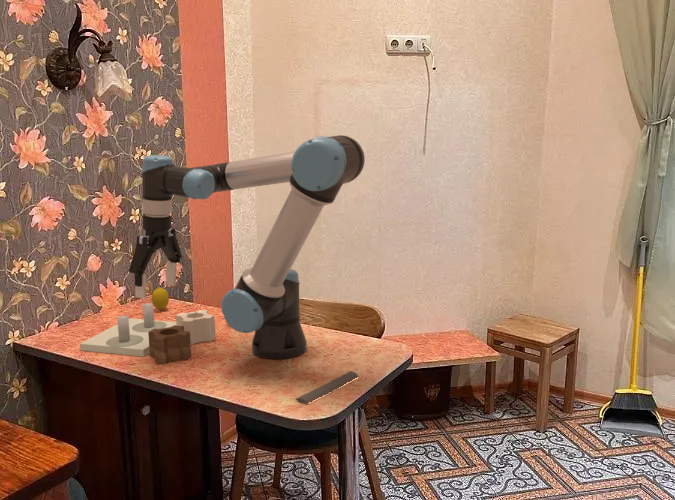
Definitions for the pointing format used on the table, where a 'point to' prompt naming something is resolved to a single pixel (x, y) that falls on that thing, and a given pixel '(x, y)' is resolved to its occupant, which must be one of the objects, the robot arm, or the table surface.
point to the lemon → (160, 298)
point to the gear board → (120, 350)
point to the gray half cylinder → (327, 387)
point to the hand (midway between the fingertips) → (156, 290)
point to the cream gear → (198, 325)
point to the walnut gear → (169, 344)
